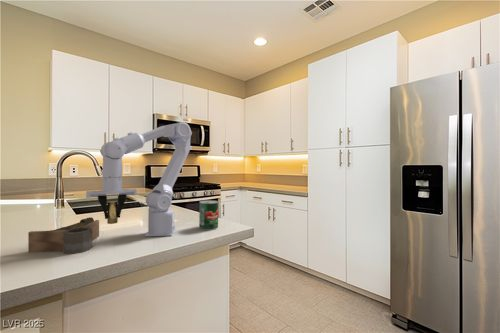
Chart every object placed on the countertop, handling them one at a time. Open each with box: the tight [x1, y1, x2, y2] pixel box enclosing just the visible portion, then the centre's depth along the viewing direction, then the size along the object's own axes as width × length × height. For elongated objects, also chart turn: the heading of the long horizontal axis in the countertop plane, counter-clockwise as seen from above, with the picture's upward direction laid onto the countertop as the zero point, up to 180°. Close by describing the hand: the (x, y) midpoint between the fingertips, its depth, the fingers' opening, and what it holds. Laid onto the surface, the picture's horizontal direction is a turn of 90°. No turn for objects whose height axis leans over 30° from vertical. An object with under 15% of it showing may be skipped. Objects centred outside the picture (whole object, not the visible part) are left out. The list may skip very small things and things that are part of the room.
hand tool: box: [49, 217, 95, 231], centre depth 91 cm, size 19×4×5 cm, turn 170°
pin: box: [106, 200, 119, 225], centre depth 80 cm, size 3×3×7 cm
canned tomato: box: [198, 199, 219, 231], centre depth 101 cm, size 8×8×11 cm
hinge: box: [27, 219, 100, 255], centre depth 78 cm, size 17×17×6 cm
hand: (112, 217), depth 81 cm, fingers closed on pin, 3 cm apart
